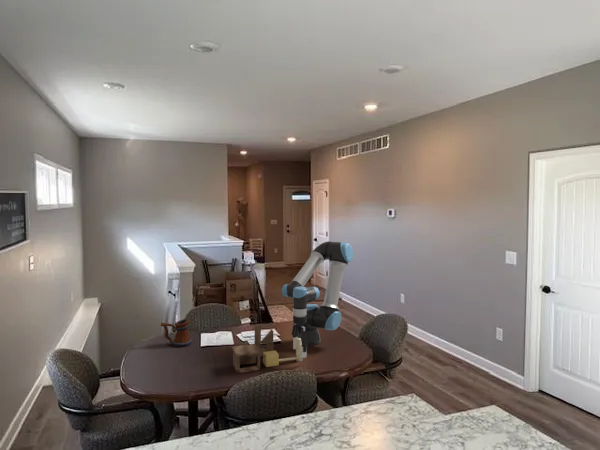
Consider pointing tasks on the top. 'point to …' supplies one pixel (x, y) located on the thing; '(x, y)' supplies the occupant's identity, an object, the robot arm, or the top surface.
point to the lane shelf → (246, 357)
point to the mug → (179, 333)
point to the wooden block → (263, 340)
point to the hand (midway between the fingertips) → (299, 353)
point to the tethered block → (273, 357)
